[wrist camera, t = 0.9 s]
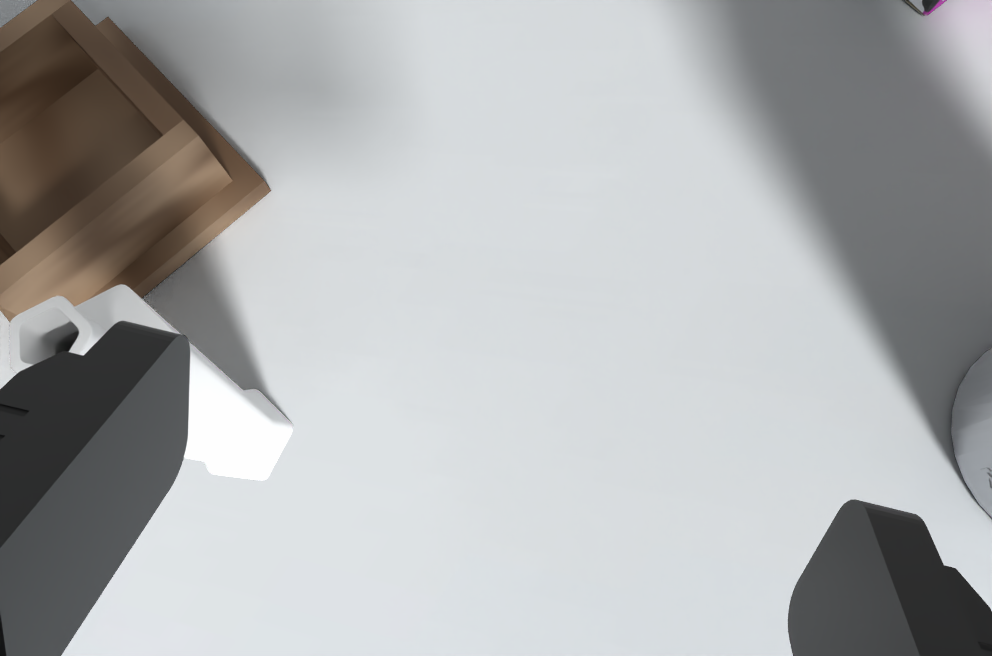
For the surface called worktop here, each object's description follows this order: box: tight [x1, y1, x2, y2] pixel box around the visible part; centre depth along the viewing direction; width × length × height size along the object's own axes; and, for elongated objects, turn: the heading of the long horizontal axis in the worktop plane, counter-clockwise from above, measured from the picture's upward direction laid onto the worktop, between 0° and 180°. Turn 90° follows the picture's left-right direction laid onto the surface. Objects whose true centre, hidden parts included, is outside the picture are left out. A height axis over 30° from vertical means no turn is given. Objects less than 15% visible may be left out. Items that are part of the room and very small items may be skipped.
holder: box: [0, 0, 271, 322], centre depth 37 cm, size 12×12×5 cm
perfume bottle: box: [9, 284, 294, 481], centre depth 28 cm, size 5×4×15 cm
